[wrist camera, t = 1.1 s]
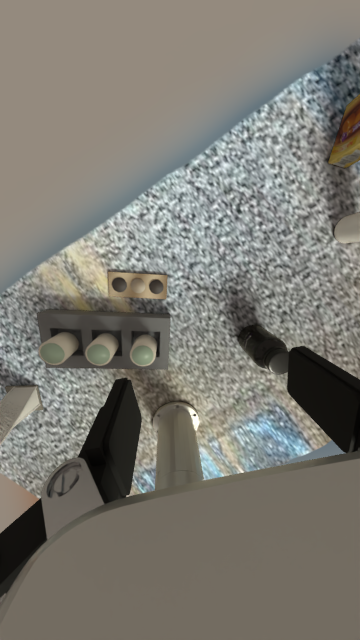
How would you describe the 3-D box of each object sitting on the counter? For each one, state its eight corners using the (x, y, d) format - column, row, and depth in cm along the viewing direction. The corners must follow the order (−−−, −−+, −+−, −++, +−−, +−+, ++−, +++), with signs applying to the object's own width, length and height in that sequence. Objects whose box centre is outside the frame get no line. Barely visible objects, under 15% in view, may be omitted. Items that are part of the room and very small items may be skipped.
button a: (156, 355, 38) (155, 367, 34) (134, 354, 38) (129, 366, 33) (157, 334, 37) (155, 344, 32) (134, 334, 36) (129, 343, 32)
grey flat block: (170, 314, 40) (170, 318, 36) (167, 361, 43) (167, 369, 40) (48, 309, 37) (36, 313, 34) (56, 359, 41) (46, 367, 37)
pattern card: (167, 275, 37) (167, 275, 36) (166, 298, 39) (166, 299, 38) (108, 271, 36) (107, 271, 35) (110, 295, 38) (108, 296, 37)
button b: (119, 354, 37) (112, 366, 33) (95, 354, 37) (85, 366, 33) (118, 333, 36) (111, 343, 32) (94, 332, 36) (83, 342, 31)
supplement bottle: (234, 329, 42) (259, 353, 30) (261, 320, 42) (297, 340, 30) (241, 353, 44) (267, 384, 32) (267, 344, 44) (302, 372, 32)
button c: (79, 353, 37) (67, 365, 32) (55, 353, 36) (40, 365, 32) (77, 332, 35) (64, 341, 31) (52, 331, 35) (35, 341, 30)
